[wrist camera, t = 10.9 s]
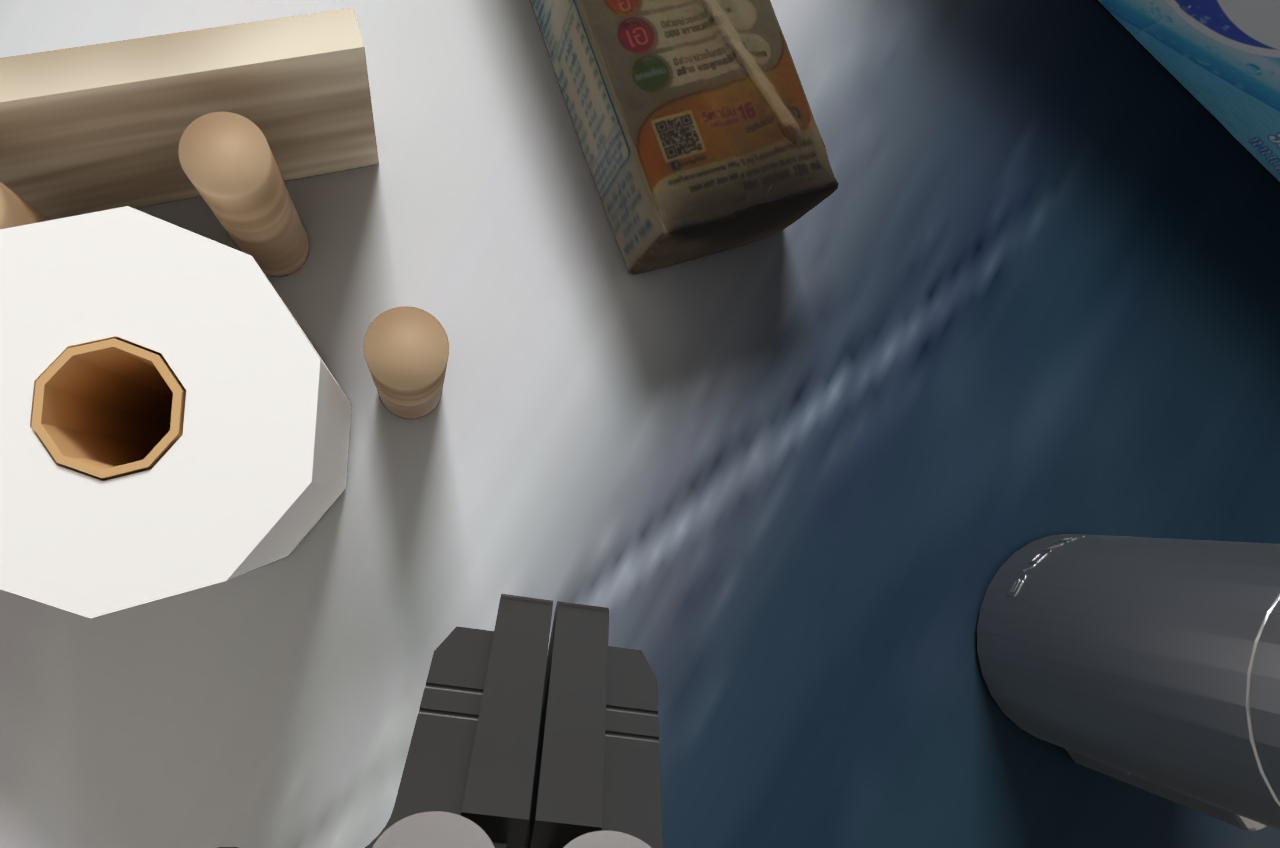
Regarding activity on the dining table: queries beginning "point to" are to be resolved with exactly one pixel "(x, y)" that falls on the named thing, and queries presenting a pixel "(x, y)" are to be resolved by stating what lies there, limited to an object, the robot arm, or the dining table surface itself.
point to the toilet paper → (152, 414)
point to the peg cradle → (211, 149)
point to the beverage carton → (687, 122)
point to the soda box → (1218, 60)
